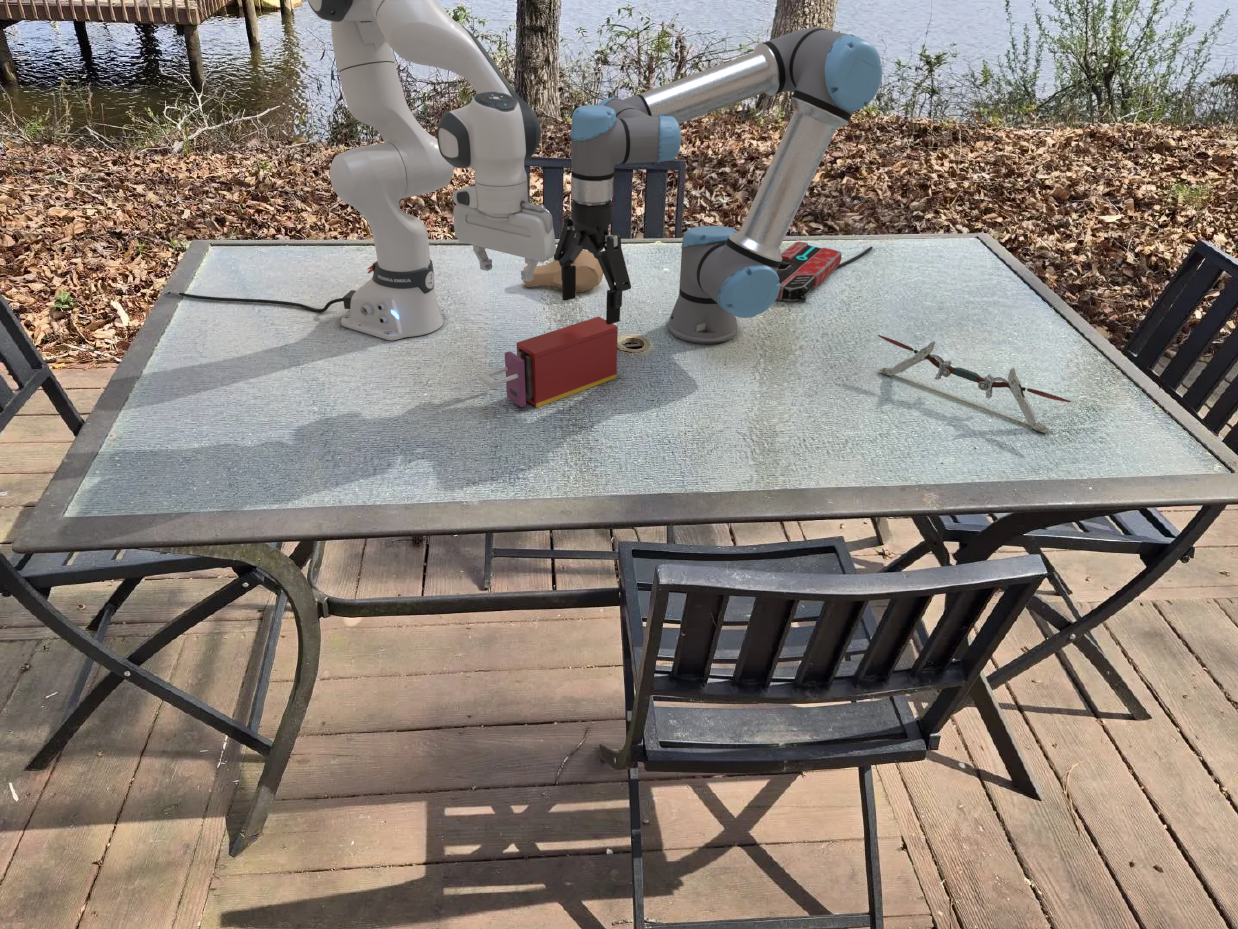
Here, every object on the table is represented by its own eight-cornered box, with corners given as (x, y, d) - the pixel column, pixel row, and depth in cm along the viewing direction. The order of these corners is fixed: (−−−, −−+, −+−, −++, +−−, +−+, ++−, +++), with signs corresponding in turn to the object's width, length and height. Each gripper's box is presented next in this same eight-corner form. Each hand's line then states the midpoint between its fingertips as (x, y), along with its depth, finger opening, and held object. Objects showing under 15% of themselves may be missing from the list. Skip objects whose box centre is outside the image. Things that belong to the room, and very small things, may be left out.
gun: (728, 271, 214) (803, 290, 206) (777, 233, 236) (846, 249, 228) (726, 288, 217) (800, 308, 209) (775, 249, 239) (843, 266, 231)
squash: (606, 296, 211) (601, 263, 205) (524, 303, 213) (517, 271, 207) (606, 272, 219) (602, 240, 213) (527, 279, 221) (521, 248, 214)
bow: (1060, 435, 162) (1077, 387, 156) (1056, 439, 161) (1073, 391, 155) (873, 366, 183) (882, 322, 178) (869, 369, 182) (878, 325, 177)
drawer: (493, 417, 161) (490, 371, 156) (479, 407, 164) (476, 361, 159) (598, 378, 174) (598, 335, 169) (583, 369, 177) (583, 326, 172)
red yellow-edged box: (536, 407, 166) (534, 353, 160) (518, 395, 170) (516, 342, 163) (616, 377, 177) (617, 326, 170) (598, 366, 180) (598, 316, 174)
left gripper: (562, 202, 147) (564, 281, 154) (469, 183, 156) (475, 258, 163) (539, 211, 142) (542, 292, 150) (444, 191, 151) (452, 268, 159)
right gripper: (654, 214, 150) (648, 327, 162) (567, 179, 166) (566, 285, 178) (620, 222, 146) (616, 338, 158) (534, 185, 162) (536, 293, 174)
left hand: (506, 274), depth 156 cm, fingers open, 8 cm apart
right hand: (590, 310), depth 168 cm, fingers open, 13 cm apart
